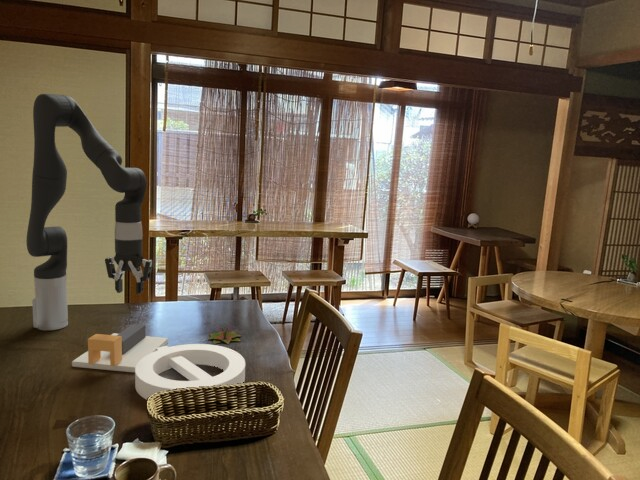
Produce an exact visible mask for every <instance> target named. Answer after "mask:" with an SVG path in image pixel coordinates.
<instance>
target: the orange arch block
mask: <svg viewBox="0 0 640 480" xmlns="http://www.w3.org/2000/svg"><path fill="white" fill-rule="evenodd" d="M87 351H88V363H89V364H94V363H95V362H96V361H98V360H99V359H100V358H101V351H108V352H110V366H115V365H117V364H118V363H119V362H120V361H122V336H115V335H112V334H100V333H95V334H94V335H92V336H90V337H89V338H87Z"/></svg>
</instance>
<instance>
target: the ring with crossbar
mask: <svg viewBox="0 0 640 480" xmlns="http://www.w3.org/2000/svg"><path fill="white" fill-rule="evenodd" d="M197 365H201V366H202V365H203V366H211V367H214V366H215V368H217V367H218V369H221V370H222V369H223V370H222V371H223V372H220V373H219V374H217V375H214V376H212V375H210V374H209V373H208V372H206V371H205V370H203V369H202V368H200V367H199V366H197ZM170 369H174V370H175V371H176V372H178V373H179V374H180V375H182V376H183V377H184V378H186V379H187V380H175V379H169V378H166V377H163V376H161V375H160V374H162V373H163V372H164V371H167V370H170ZM134 376H135V377H134V381H135V383H134V386H135V387H134V388H135V390H136V392H137V394H138V395H139V396H140V397H142V398H143V399H145V400H147V398H148V397H149V396H151V395H152V394H154V393H156V392H160V391H164V390H169V389H176V388H186V387H199V386H213V385H227V384H237V383H243V382H244V383H245V382H246V381H245V379H246V359H245V357H243V356H242V354H241V353H239V351H236V350H233V349H231V348H229V347H226V346H221V345H216V344H207V343H188V344H177V345H173V346H168V345H165V346H163V347H159V348H156V351H155V352H152V353H150V354H148V355H146V356H145V357H143V358H142V359H141V360H140V361H139V362H138V363H137V365H136V367H135V372H134ZM147 401H148V400H147Z"/></svg>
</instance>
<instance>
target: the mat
mask: <svg viewBox="0 0 640 480" xmlns="http://www.w3.org/2000/svg"><path fill="white" fill-rule="evenodd" d="M118 334H119V333H116V332H113V333H112V334H111V335H115V336H117V335H118ZM167 344H169V338H168V337H160V336H149V335H145V338H144V339H143V340H141V341H140V342H139V343H138V344H136V345H135V346H134V347H133V348H131V349H130V350H129V351H128V352H126V353H125V354H124V355H122V361H120V362H119V363H118V364H117V365H115V366H110V352H108V351H101V358H100V359H99V360H98V361H96V362H95V363H94V364H89V363H88V350H87V351H86V352H84V353H82V354H81V355H80V356H77V358H75V359H73V360H72V361H71V365H72V367H73V368H74V367H75V368H84V369H95V370H106V371H116V372H126V373H135V367H136V365H137V363H138V362H139V361H140V360H141V359H142V358H143V357H145V356H146V355H148V354H150V353H152V352H155V351H156V348H159V347H163V346H167Z"/></svg>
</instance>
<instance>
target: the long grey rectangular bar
mask: <svg viewBox="0 0 640 480" xmlns="http://www.w3.org/2000/svg"><path fill="white" fill-rule="evenodd" d="M117 334H118V335H117V336H122V355H124V354H125V353H126V352H128V351H129V350H130V349H131V348H133V347H134V346H135V345H136V344H138V343H139V342H140V341H141V340H143V339H144V338H145V336H146V324H134V323H132V324H131V325H130V326H128V327H127V328H125V329H124V330H122V331H121V332H119V333H117Z"/></svg>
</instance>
